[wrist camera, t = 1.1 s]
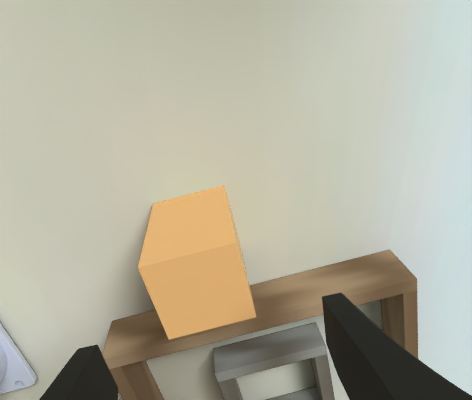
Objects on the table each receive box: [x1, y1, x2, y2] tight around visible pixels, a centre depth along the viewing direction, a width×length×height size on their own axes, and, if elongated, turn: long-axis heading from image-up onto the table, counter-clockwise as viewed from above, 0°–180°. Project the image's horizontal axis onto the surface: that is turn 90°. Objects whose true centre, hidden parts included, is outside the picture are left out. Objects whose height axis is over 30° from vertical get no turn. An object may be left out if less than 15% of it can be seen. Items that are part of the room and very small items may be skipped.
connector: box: [138, 185, 256, 340], centre depth 18 cm, size 4×4×6 cm
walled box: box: [102, 250, 418, 400], centre depth 24 cm, size 18×16×3 cm
